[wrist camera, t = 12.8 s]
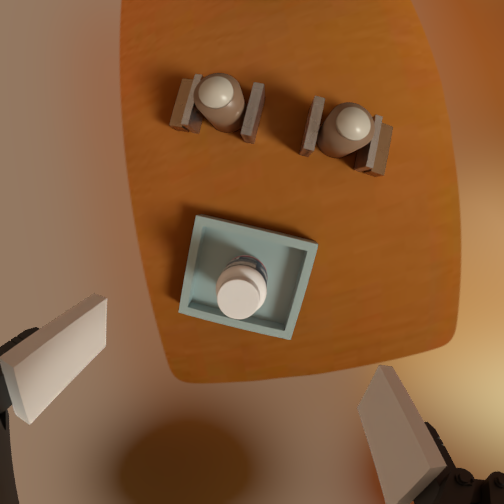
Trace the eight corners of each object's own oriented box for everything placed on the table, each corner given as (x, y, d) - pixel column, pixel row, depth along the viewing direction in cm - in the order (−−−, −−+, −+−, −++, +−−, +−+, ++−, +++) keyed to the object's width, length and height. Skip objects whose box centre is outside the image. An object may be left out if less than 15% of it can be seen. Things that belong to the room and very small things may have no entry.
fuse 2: (320, 116, 33) (334, 94, 24) (356, 127, 33) (380, 109, 24) (312, 152, 34) (325, 138, 25) (349, 162, 33) (372, 153, 25)
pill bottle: (266, 297, 37) (264, 328, 28) (223, 295, 37) (209, 324, 28) (269, 255, 36) (268, 274, 27) (225, 252, 36) (210, 271, 27)
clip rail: (189, 86, 33) (177, 72, 28) (384, 131, 32) (399, 123, 27) (176, 130, 34) (163, 121, 29) (375, 176, 33) (390, 174, 29)
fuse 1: (215, 94, 33) (198, 67, 24) (251, 101, 33) (245, 73, 24) (205, 129, 34) (185, 110, 25) (242, 135, 34) (233, 117, 25)
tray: (201, 213, 36) (196, 215, 33) (315, 241, 35) (318, 244, 33) (184, 305, 38) (178, 312, 36) (289, 331, 38) (290, 339, 35)
